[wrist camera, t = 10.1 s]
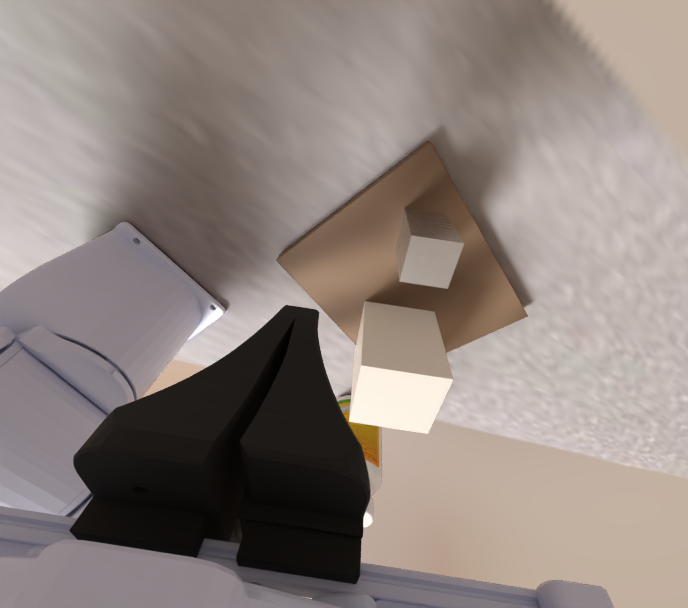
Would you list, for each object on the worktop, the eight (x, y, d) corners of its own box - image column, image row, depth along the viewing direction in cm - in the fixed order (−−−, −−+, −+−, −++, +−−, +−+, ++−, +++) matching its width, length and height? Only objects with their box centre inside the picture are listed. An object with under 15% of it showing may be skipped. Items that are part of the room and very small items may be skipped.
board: (279, 254, 22) (276, 260, 21) (428, 141, 17) (430, 142, 17) (387, 370, 28) (388, 378, 27) (522, 308, 23) (528, 316, 22)
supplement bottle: (321, 396, 30) (301, 503, 22) (373, 389, 29) (372, 499, 21) (337, 429, 33) (325, 534, 25) (386, 423, 32) (389, 532, 24)
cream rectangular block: (354, 352, 25) (348, 421, 20) (364, 301, 23) (361, 365, 17) (416, 362, 25) (427, 433, 20) (434, 311, 23) (453, 379, 17)
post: (395, 247, 20) (399, 281, 16) (404, 208, 19) (411, 235, 15) (434, 253, 20) (447, 288, 16) (446, 214, 19) (464, 243, 15)
